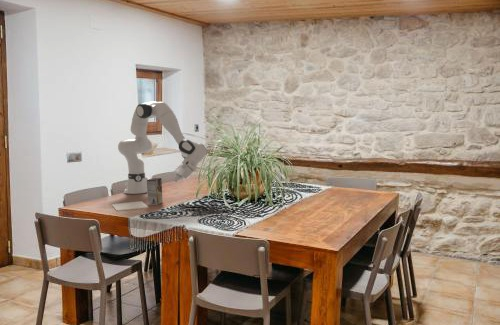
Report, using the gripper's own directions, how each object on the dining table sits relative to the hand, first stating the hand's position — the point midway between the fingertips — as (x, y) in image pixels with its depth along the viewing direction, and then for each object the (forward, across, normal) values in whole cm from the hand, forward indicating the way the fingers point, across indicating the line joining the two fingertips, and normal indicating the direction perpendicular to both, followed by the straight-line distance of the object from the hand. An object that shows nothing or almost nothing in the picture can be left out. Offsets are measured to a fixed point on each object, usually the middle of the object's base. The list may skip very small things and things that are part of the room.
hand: (174, 181), depth 302 cm
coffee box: (+19, 0, +1) cm, 19 cm away
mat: (+30, 0, -11) cm, 32 cm away
